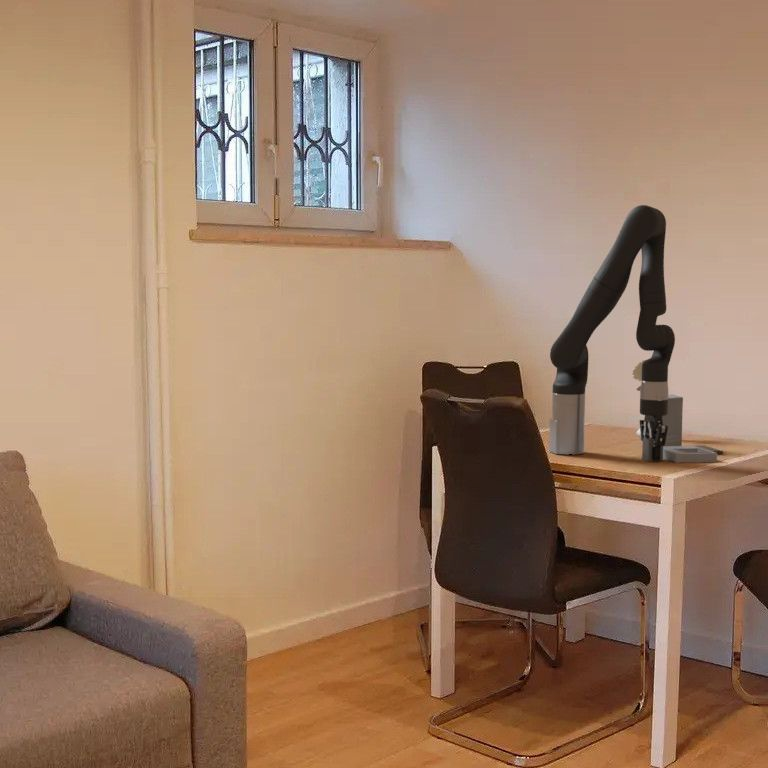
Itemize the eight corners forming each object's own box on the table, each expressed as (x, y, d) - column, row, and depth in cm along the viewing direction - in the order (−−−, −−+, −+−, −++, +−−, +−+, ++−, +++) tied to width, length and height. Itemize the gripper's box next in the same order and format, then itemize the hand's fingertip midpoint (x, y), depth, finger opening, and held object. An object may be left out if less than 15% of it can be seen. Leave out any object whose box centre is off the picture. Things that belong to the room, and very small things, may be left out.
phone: (723, 454, 319) (723, 450, 319) (703, 454, 318) (703, 451, 318) (703, 448, 331) (703, 444, 331) (684, 448, 330) (684, 445, 330)
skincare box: (670, 446, 335) (671, 393, 333) (683, 449, 328) (684, 396, 326) (645, 447, 332) (646, 394, 331) (658, 451, 325) (659, 397, 324)
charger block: (648, 461, 306) (648, 439, 305) (642, 459, 310) (642, 437, 309) (662, 461, 306) (663, 439, 306) (656, 458, 310) (656, 437, 310)
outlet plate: (675, 462, 304) (676, 453, 304) (654, 455, 318) (654, 446, 317) (716, 461, 306) (717, 452, 306) (693, 454, 320) (693, 445, 320)
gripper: (631, 395, 313) (629, 455, 314) (651, 400, 299) (650, 463, 300) (656, 394, 314) (654, 455, 316) (678, 400, 300) (676, 463, 302)
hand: (652, 458), depth 308 cm, fingers closed on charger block, 4 cm apart
